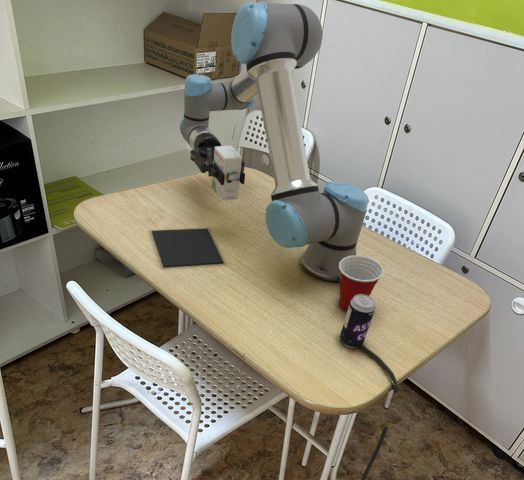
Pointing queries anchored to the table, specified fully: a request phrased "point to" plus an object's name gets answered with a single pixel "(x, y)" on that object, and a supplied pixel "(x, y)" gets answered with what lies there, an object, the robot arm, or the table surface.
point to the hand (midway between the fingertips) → (233, 179)
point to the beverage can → (357, 320)
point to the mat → (186, 247)
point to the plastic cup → (358, 277)
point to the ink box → (227, 172)
